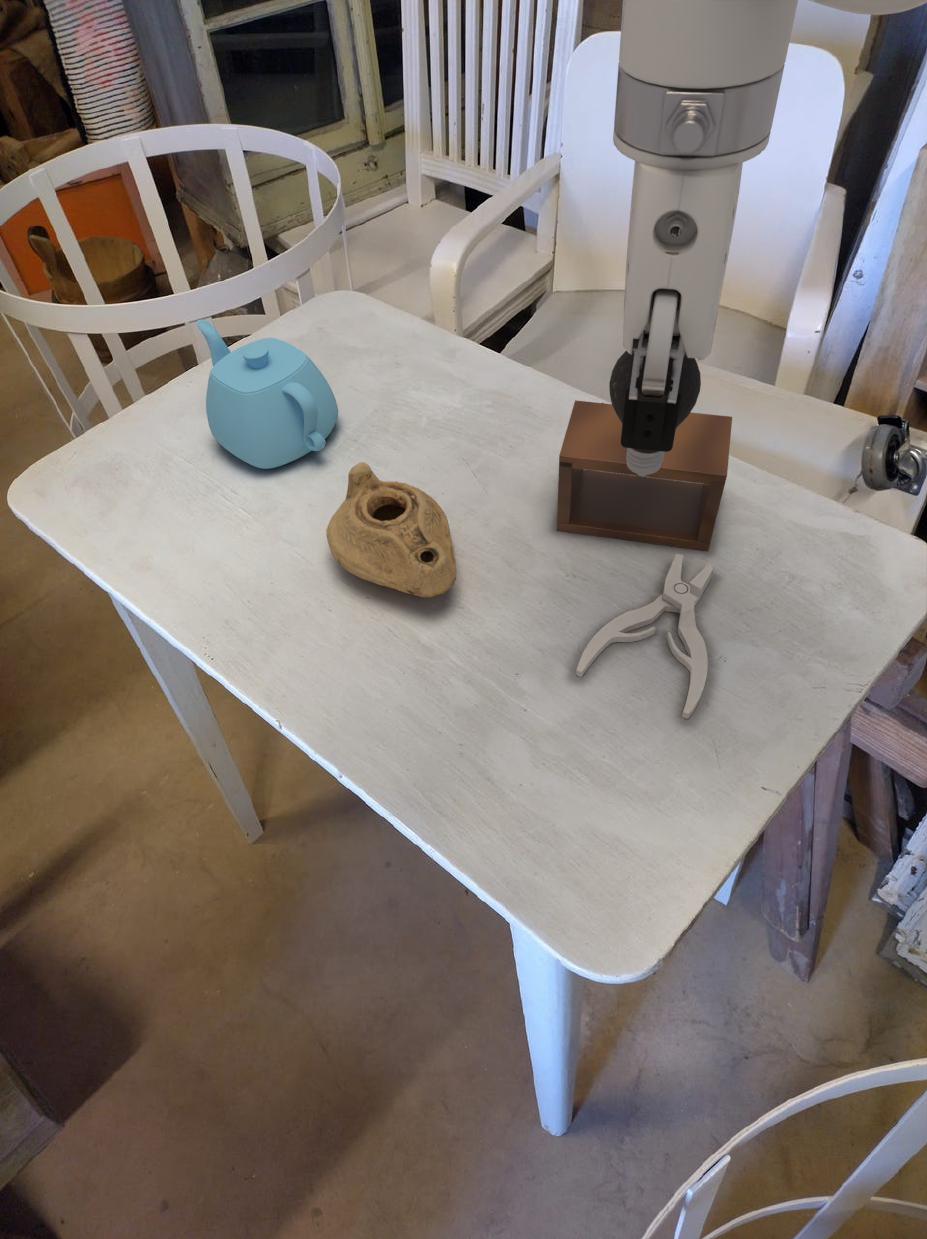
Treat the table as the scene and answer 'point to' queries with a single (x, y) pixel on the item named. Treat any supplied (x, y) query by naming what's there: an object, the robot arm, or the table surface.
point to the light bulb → (690, 388)
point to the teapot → (266, 400)
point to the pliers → (672, 600)
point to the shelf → (642, 481)
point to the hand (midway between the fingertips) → (651, 413)
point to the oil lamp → (392, 535)
